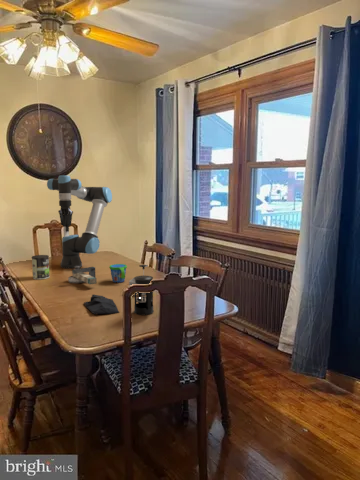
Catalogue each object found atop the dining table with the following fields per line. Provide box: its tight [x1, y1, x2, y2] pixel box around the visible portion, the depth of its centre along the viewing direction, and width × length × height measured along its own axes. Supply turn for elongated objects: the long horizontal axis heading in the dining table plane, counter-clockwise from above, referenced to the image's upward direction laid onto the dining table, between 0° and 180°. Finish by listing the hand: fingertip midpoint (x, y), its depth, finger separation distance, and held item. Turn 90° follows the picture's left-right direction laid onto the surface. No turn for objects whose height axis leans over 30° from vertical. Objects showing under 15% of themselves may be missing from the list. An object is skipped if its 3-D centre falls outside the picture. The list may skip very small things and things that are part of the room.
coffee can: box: [31, 254, 50, 280], centre depth 241 cm, size 10×10×14 cm
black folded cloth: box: [83, 294, 120, 315], centre depth 185 cm, size 15×22×5 cm
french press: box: [133, 264, 154, 316], centre depth 177 cm, size 12×9×23 cm
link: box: [71, 266, 98, 285], centre depth 226 cm, size 25×6×6 cm, turn 39°
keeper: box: [71, 266, 97, 279], centre depth 230 cm, size 14×3×9 cm, turn 126°
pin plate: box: [68, 275, 85, 284], centre depth 234 cm, size 11×11×2 cm
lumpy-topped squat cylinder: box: [128, 277, 146, 296], centre depth 211 cm, size 10×13×9 cm
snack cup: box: [109, 263, 128, 284], centre depth 234 cm, size 16×10×10 cm
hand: (66, 236), depth 244 cm, fingers closed
